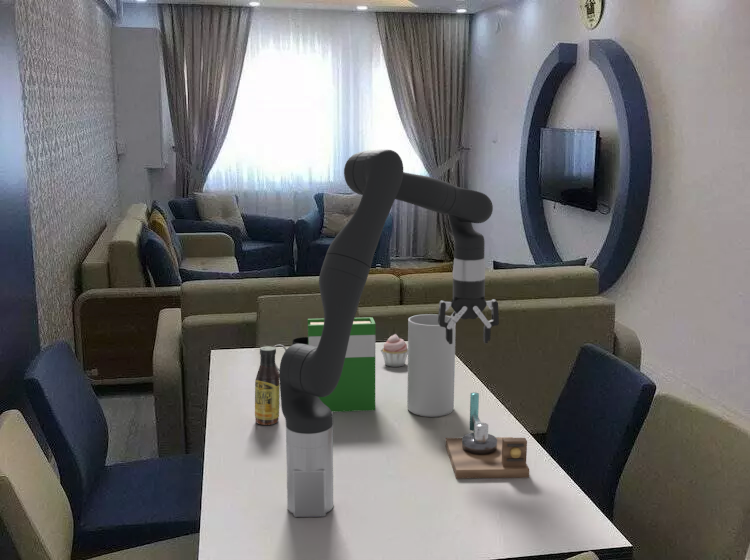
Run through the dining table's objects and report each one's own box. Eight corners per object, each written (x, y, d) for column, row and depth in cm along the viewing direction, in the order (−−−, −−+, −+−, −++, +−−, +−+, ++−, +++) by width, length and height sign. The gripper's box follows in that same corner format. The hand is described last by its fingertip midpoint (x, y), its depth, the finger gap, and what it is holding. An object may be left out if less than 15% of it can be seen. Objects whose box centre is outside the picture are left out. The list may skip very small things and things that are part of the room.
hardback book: (309, 412, 213) (308, 325, 208) (308, 403, 220) (307, 318, 215) (375, 410, 214) (375, 323, 210) (372, 401, 222) (372, 317, 217)
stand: (529, 478, 173) (530, 443, 171) (456, 479, 172) (457, 444, 171) (511, 445, 191) (513, 413, 190) (445, 445, 191) (446, 414, 189)
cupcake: (414, 363, 257) (415, 333, 256) (400, 370, 250) (400, 339, 248) (390, 358, 262) (390, 329, 260) (375, 365, 255) (375, 335, 253)
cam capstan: (499, 454, 180) (501, 412, 178) (464, 454, 180) (465, 412, 178) (489, 431, 193) (490, 392, 192) (456, 431, 193) (457, 392, 191)
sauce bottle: (250, 423, 204) (248, 349, 201) (264, 416, 210) (262, 343, 206) (271, 428, 201) (269, 352, 198) (285, 420, 207) (283, 346, 203)
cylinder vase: (425, 398, 224) (426, 312, 219) (462, 408, 216) (464, 319, 211) (398, 410, 214) (398, 320, 209) (436, 421, 206) (437, 327, 202)
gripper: (441, 280, 184) (440, 348, 187) (502, 279, 185) (500, 346, 188) (436, 274, 191) (436, 339, 194) (495, 273, 192) (494, 337, 195)
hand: (468, 342), depth 191 cm, fingers open, 8 cm apart
